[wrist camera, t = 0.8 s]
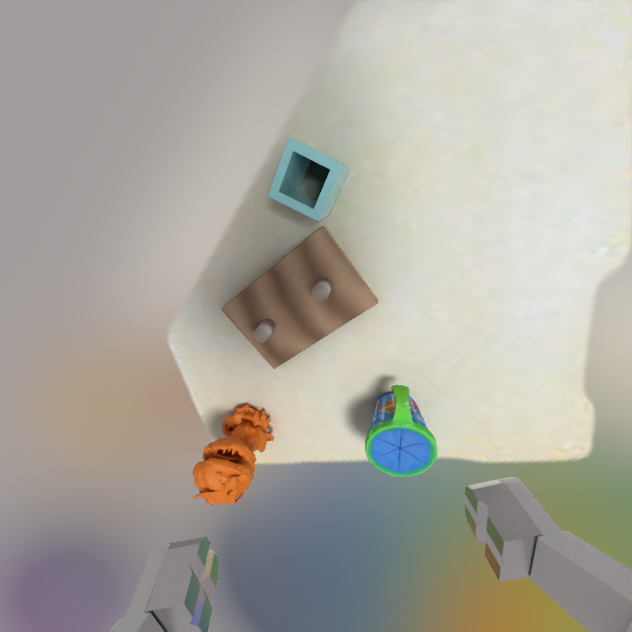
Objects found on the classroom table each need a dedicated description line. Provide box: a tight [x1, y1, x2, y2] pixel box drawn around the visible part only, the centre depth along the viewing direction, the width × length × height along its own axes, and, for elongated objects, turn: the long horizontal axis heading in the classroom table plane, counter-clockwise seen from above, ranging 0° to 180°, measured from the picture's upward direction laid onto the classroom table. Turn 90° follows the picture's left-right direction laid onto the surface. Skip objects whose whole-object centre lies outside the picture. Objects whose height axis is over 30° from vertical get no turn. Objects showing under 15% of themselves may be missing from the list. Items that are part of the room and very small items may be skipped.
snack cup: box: [365, 385, 437, 477], centre depth 49 cm, size 16×10×10 cm
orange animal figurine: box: [193, 404, 274, 505], centre depth 53 cm, size 11×11×18 cm
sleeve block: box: [268, 137, 349, 221], centre depth 37 cm, size 6×6×10 cm
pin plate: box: [221, 226, 378, 369], centre depth 47 cm, size 22×14×6 cm, turn 128°
